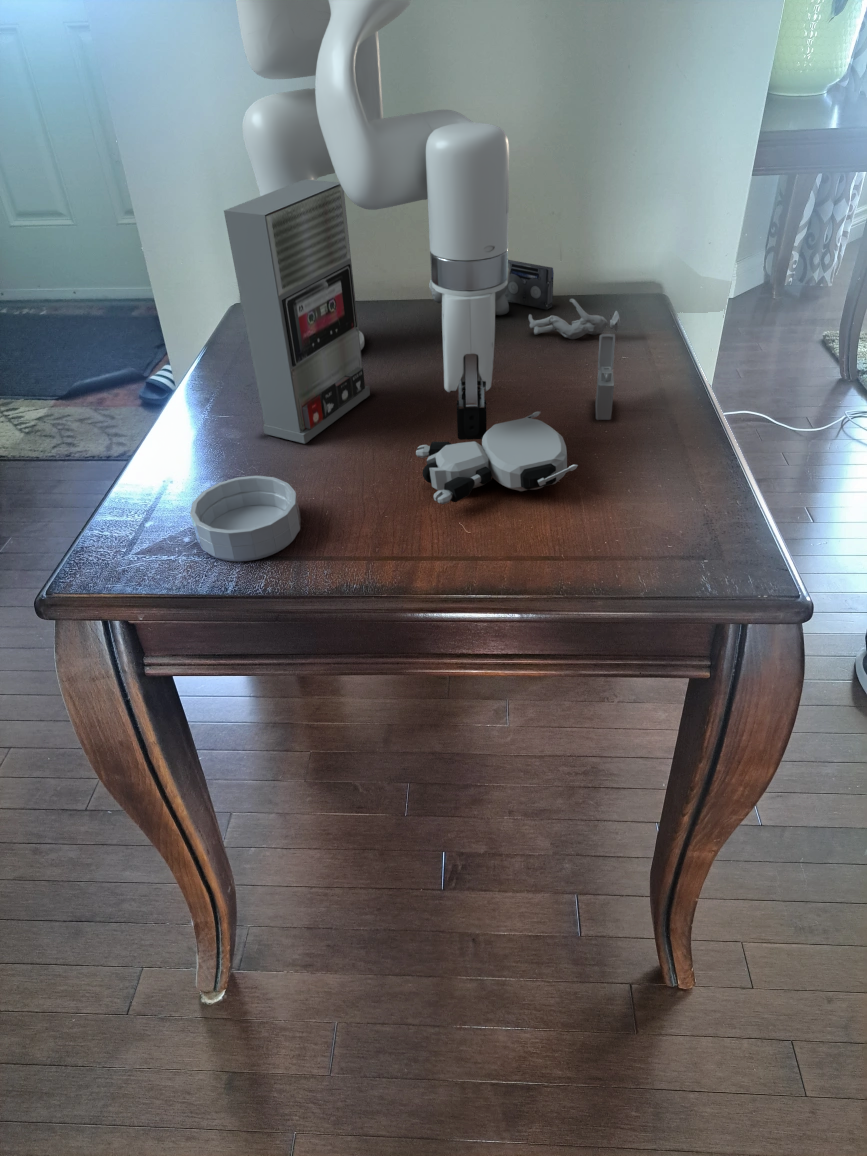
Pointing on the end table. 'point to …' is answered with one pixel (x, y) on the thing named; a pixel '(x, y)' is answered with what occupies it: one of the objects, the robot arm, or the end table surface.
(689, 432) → the end table surface
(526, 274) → the mini dv tape
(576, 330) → the soldier figure
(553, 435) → the robot toy
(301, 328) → the cassette tape recorder
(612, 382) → the lighter
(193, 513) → the grey shallow bowl
